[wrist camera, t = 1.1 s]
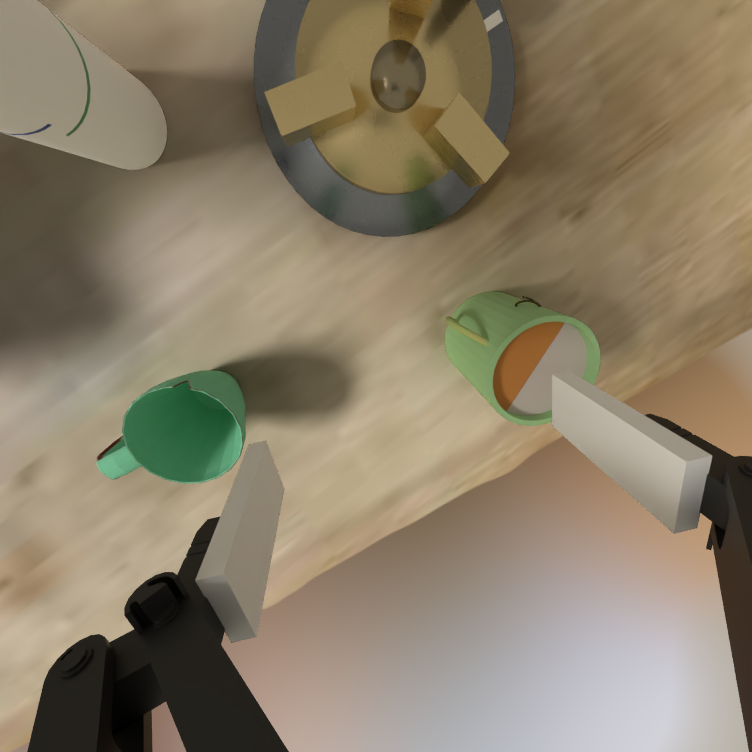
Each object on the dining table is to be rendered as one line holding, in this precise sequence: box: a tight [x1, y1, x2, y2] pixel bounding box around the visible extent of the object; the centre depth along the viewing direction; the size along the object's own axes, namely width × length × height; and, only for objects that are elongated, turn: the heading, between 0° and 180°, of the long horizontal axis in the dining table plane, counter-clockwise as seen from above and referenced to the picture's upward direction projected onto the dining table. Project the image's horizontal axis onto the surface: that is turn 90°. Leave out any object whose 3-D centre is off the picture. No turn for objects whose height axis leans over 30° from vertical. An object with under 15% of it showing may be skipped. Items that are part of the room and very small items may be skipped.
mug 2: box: [445, 292, 600, 426], centre depth 35 cm, size 13×10×12 cm
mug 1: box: [97, 370, 246, 484], centre depth 36 cm, size 15×10×10 cm
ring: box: [254, 0, 515, 237], centre depth 29 cm, size 22×22×7 cm
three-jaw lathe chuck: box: [264, 0, 510, 195], centre depth 27 cm, size 17×18×6 cm
